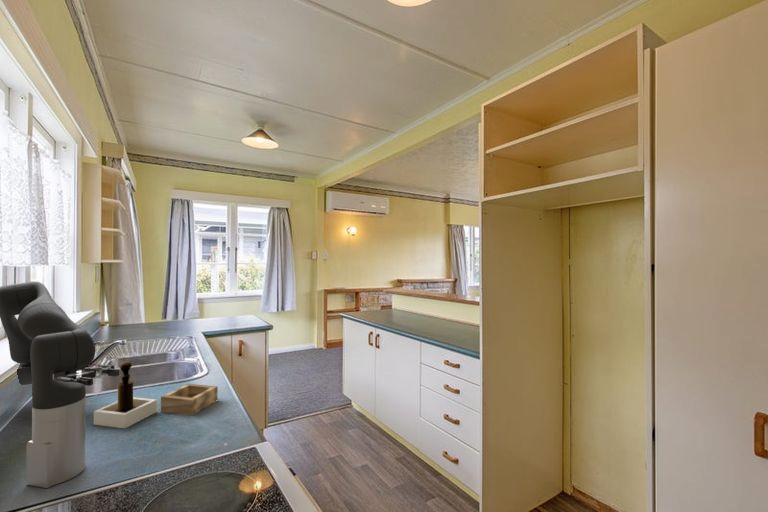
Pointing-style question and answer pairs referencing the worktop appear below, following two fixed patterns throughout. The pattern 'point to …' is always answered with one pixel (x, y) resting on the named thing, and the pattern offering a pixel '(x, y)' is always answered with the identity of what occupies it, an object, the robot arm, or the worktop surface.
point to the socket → (189, 399)
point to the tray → (124, 420)
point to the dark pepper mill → (125, 389)
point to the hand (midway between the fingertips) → (105, 377)
